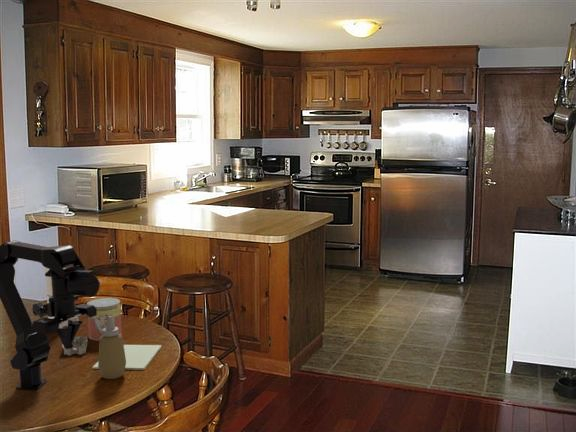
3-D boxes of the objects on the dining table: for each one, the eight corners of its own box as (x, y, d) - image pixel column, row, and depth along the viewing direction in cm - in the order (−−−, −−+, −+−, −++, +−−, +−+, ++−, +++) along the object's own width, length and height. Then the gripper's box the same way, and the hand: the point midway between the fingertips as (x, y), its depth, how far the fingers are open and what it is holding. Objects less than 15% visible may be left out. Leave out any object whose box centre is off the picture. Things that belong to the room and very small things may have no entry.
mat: (144, 369, 197) (144, 367, 197) (92, 368, 198) (92, 367, 198) (161, 346, 216) (161, 345, 216) (114, 346, 218) (114, 344, 218)
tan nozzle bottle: (96, 373, 194) (93, 315, 192) (124, 368, 198) (121, 311, 195) (101, 383, 187) (97, 322, 184) (129, 378, 190) (126, 318, 188)
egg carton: (85, 355, 210) (84, 343, 210) (61, 357, 209) (60, 344, 209) (89, 344, 221) (89, 332, 220) (66, 345, 220) (66, 333, 219)
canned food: (89, 342, 222) (87, 308, 220) (88, 332, 233) (86, 299, 231) (123, 338, 225) (121, 304, 224) (120, 328, 236) (119, 296, 234)
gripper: (66, 282, 187) (69, 334, 190) (14, 298, 171) (18, 355, 173) (96, 286, 183) (99, 339, 185) (45, 303, 166) (49, 361, 168)
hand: (67, 348), depth 178 cm, fingers closed
